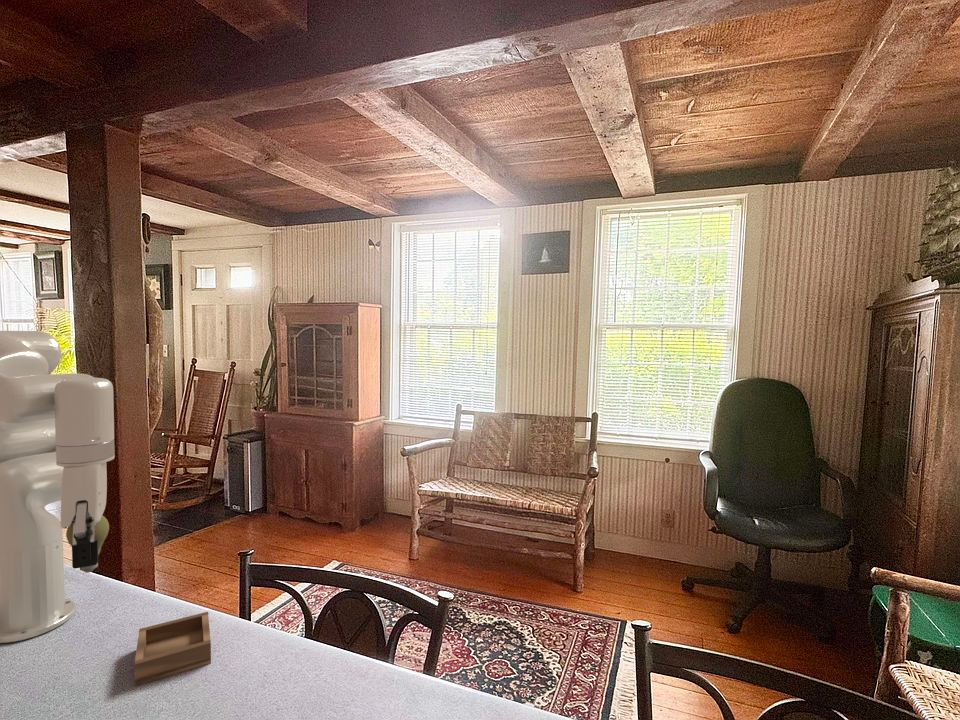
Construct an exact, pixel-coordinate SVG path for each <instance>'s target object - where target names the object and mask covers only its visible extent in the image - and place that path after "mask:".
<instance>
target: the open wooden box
mask: <svg viewBox="0 0 960 720" xmlns="http://www.w3.org/2000/svg"><path fill="white" fill-rule="evenodd" d="M209 618H210V617H209V611H204V612H201V613H200V612H199V613H198V614H197V613H196V614H193V615H189V616H185V617H182V618H177V619H173V620H170V621H166V622H162V623H158V624H153V625H150V626H145V627H142V628H138V629H139V630H138V636H137V637H138V638H137V644H136V650H135V657H134V662H133V663H134V664H133V665H134V668H133V669H134V687H137V686H140V685H143V684H146V683H149V682H153V681H157V680H160V679H164V678H166V677H170V676H172V675H176V674H179V673H183V672H185V671H189V670H193V669H197V668H200V667H202V666H206V665H208V664H212V649H211V648H212V647H211V646H212V642H211V629H210V619H209Z"/></svg>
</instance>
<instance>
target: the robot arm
mask: <svg viewBox="0 0 960 720" xmlns="http://www.w3.org/2000/svg"><path fill="white" fill-rule="evenodd" d="M61 358H62V349H61V346H60V343H59V341H58V340H57V339H56V338H55V337H54V336H52V335H51V334H49V333H48V332H46V331H45V332H44V331H37V330H0V644H5V643H6V644H9V643H14V642H19V641H25V640H27V639H31V638H35V637H37V636H40V635H43V634H45V633H48V632H50V631H52V630H54V629H56V628H58V627H60V626H62V625H63V624H64V623H66V622H67V621H68V620H70V619H71V618H72V617H73V615H74V614H75V613H76V603H75V601H74V600H71V599H70V598H69V599H68V598H66V597H65V567H64V565H65V564H64V534H63V533H64V532H63V530H64V529H67V528H68V526H70V525H71V523H72V521H73V544H72V546H71V560H72V561H71V563H72V568H73V569H80V568H81V567H87V566H92V565H96V564H97V563H98V564H99V555H98V540H95V533H96V523H98V522H99V521H100V519H101V517H102V515H103V514H104V512H105V510H106V506H107V493H108V492H107V491H108V487H107V486H108V477H107V475H108V474H107V473H108V471H107V467H108V466H107V462H111V461H113V460H114V459H115V457H116V456H115V455H116V454H115V417H114V415H115V412H114V410H115V409H114V406H115V405H114V404H115V403H114V400H115V399H114V385H113V382H112V381H110V380H109V379H107V378H103V377H94V376H93V375H90V374H87V373H62V374H57V373H55V374H53V372H54V371H55V370H56V369H57V367H58V366H59V365H60V362H61ZM56 502H60V519H59V517H57V516H55V515H54V514H52V513H51V512H49V511H48V510H47V509H46V506H47V505H50V504H53V503H56ZM103 516H104V515H103ZM87 519H92V522H91V523H86V522H87ZM90 526H91V531H89V530H87V528H86V527H90ZM103 548H104V543H103V544H102V547H101V550H103Z"/></svg>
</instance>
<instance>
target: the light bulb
mask: <svg viewBox="0 0 960 720" xmlns="http://www.w3.org/2000/svg"><path fill="white" fill-rule="evenodd" d="M91 522H92V519H87V522H86V523H91ZM86 528H87V530H89V531H91V526H90V527H86ZM109 531H110V523H109V521H108V519H107V518H106V517H105V515H102V517H101V519H100V521H99V522H98V523H96V533H95V540H98V556H100V553H101V551H102V549H101V547H102V544H103V545H104V542H105V540H106V538H107V537H108V534H109ZM65 534H66V535H65V537H66V541H67V543H68V544H69V545H70V546H71V547H72V544H73V521H72V523H71V525H70V526H68V527H67V528H66V533H65ZM98 567H99V562H98V563H97V564H96V565H92V566H87V567H81V568H79V571H82V572H84V573H86V574H88V573H92V572H94V570H95V569H96V568H98Z"/></svg>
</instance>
